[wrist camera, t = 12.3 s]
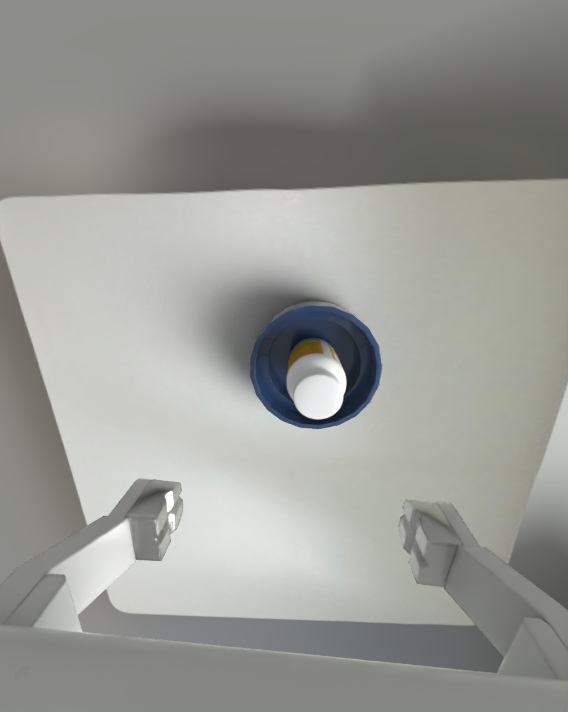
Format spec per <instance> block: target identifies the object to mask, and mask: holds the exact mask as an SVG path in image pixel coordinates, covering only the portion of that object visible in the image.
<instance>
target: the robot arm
mask: <svg viewBox="0 0 568 712" xmlns="http://www.w3.org/2000/svg"><path fill="white" fill-rule="evenodd" d="M181 491H182V489H181V483H179V482H172V481H162V480H149V479H138V480H136V481H135V482H134V483H133V485H132V486H131V487H130V489H129V490H128V491H127V492H126V494H125V495H124V496H123V498H122V499H121V500H120V501H119V503H118V504H117V505H116V507H115V508H114V509H113V510H112V512H111V513H110V514H109V516H103V517H101V518H99V519H98V520H96V521H94V522H93V523H91V524H89V525H88V526H86V527H84V528H83V529H82V530H79V531H78V532H76V533H74V534H73V535H71V536H69V537H68V538H66V539H64V540H63V541H61V542H59V543H58V544H56V545H55V546H53V547H51V548H49V549H48V550H46V551H44V552H43V553H41V554H39V555H38V556H36V557H34V558H33V559H31V560H29V561H28V562H26V563H25V564H23V565H21V566H19V567H18V568H16V569H15V570H14V571H13V572H12V573H11V574H10V575H9V576H8V577H7V579H6V580H5V581H4V582H3V583H2V584H1V585H0V712H568V610H567V609H565V608H564V607H563V606H562V605H560V604H559V603H558V602H556V601H555V600H554V599H552V598H551V597H550V596H548V595H547V594H546V593H545V592H543V591H542V590H541V589H539V588H538V587H537V586H535V585H534V584H533V583H531V582H530V581H529V580H527V579H526V578H525V577H524V576H522V575H521V574H519V573H518V572H517V571H516V570H514V569H513V568H511V567H510V566H509V565H508V564H506V563H505V562H504V561H503V560H501V559H500V558H499V557H497V556H496V555H495V554H493V553H492V552H491V551H489V550H488V549H487V548H485V547H480V545H479V544H478V542H477V541H476V539H475V538H474V536H473V534H472V533H471V531H470V530H469V528H468V527H467V525H466V524H465V522H464V521H463V519H462V518H461V516H460V515H459V513H458V512H457V510H456V509H455V507H454V506H453V505H452V504H451V503H450V502H433V501H419V500H405V502H404V504H403V510H404V513H405V514H404V515H403V516H402V517H400V521H399V535H400V539H401V543H402V546H403V548H404V549H405V550H406V551H407V552H408V553H409V554H410V558H409V564H410V567H411V570H412V572H413V575H414V578H415V580H416V583H417V584H423V585H431V586H439V587H444V589H445V590H446V591H447V592H448V594H449V595H450V596H451V597H452V598H453V599H454V601H455V602H456V603H457V604H458V605H459V606H460V607H461V609H462V610H463V611H464V612H465V613H466V614H467V615H468V617H469V618H470V619H471V620H472V621H473V622H474V623H475V625H476V626H477V627H478V628H479V629H480V630H481V631H482V633H483V634H484V635H485V636H486V637H487V638H488V639H489V640H490V642H491V643H492V644H493V645H494V646H495V647H496V648H497V650H498V651H499V652H500V653H501V654H502V655H503V657H504V659H503V662H502V663H501V665H500V667H499V669H498V672H497V673H488V672H478V671H467V670H458V669H448V668H438V667H428V666H418V665H408V664H398V663H388V662H377V661H368V660H358V659H348V658H338V657H327V656H317V655H307V654H298V653H288V652H287V653H286V652H277V651H266V650H257V649H247V648H237V647H227V646H217V645H207V644H197V643H187V642H176V641H166V640H156V639H146V638H136V637H125V636H116V635H106V634H96V633H86V632H82V628H81V625H80V622H79V619H78V614H79V613H80V612H81V611H82V610H84V609H85V608H86V607H87V606H88V605H89V604H90V603H91V602H92V601H93V600H94V599H95V598H97V597H98V596H99V595H100V594H101V593H102V592H103V591H104V590H105V589H106V588H107V587H109V586H110V585H111V584H112V583H113V582H114V581H115V580H116V579H117V578H118V577H119V576H121V575H122V574H123V573H124V572H125V571H126V570H127V569H128V568H129V567H130V566H131V565H133V564H134V563H135V562H136V560H151V561H162V559H163V557H164V555H165V553H166V550H167V548H168V546H169V544H170V542H171V539H170V534H171V533H172V532H174V531H175V530H176V529H177V527H178V525H179V523H180V520H181V516H182V512H183V500H182V499H181V498H180V497H179V495H180V493H181Z"/></svg>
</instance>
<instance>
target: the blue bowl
mask: <svg viewBox="0 0 568 712" xmlns="http://www.w3.org/2000/svg"><path fill="white" fill-rule="evenodd" d="M307 338H319V339H323V340H325V341H326V342H328V343H329V344H330V345H331V346H332V347H333V349H334V350H335V352H336V354H337V356H338V359H339V361H340V363H341V365H342V368H343V370H344V372H345V376H346V389H345V392H344V395H343V402H342V405H341V407H340V408H339V410H338V411H337V412H336V413H335V414H334V415H332V416H330V417H328V418H325V419H312V418H308V417H306V416H304V415H303V414H302V413H300V412H299V411H298V409H297V408H296V406H295V404H294V401H293V400H292V398H291V397H290V395H289V393H288V390H287V371H288V362H289V356H290V353H291V351H292V349H293V348H294V346H295V345H296V344H297V343H298V342H300V341H302V340H304V339H307ZM381 372H382V361H381V355H380V349H379V345H378V344H377V342H376V340H375V338H374V337H373V335H372V333H371V331H370V330H369V328H368V327H367V326H365V325H364V324H363V323H362V322H361V321H360V320H358V319H357V318H356V317H355V316H354V315H352V314H351V313H350V312H349V311H348V310H346V309H344V308H342V307H339V306H337V305H334V304H332V303H329V302H317V301H307V302H303V303H299V304H295V305H292V306H289V307H288V308H286V309H284V310H283V311H281V312H280V313H278V314H277V315H275V316H274V317H273V318H272V319H271V321H270V322H269V323H268V324H267V326H266V327H265V328H264V329H263V331H262V332H261V334H260V335H259V337H258V339H257V341H256V344H255V346H254V349H253V352H252V355H251V362H250V376H251V380H252V383H253V386H254V389H255V393H256V395H257V396H258V398H259V399H260V400H261V402H262V403H263V405H264V406H265V407H266V409H267V410H268V411H270V412H271V413H272V414H274V415H275V416H276V417H278V418H279V419H280V420H282V421H284V422H287V423H289V424H292V425H295V426H297V427H300V428H312V429H322V428H327V427H332V426H337V425H340V424H342V423H344V422H346V421H348V420H350V419H351V418H353V417H355V416H357V415H358V414H359V413H360V412H361V411H362V410H363V409H364V408H365V407H366V406H367V405H368V404H369V403H370V402H371V400H372V398H373V396H374V394H375V392H376V390H377V389H378V387H379V384H380V378H381Z"/></svg>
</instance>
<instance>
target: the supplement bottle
mask: <svg viewBox="0 0 568 712" xmlns="http://www.w3.org/2000/svg"><path fill="white" fill-rule="evenodd" d="M345 389H346V376H345V372H344V370H343V368H342V365H341V363H340V361H339V359H338V356H337V354H336V352H335V350H334V349H333V347H332V346H331V345H330V344H329V343H328V342H326V341H325V340H323V339H319V338H307V339H304V340H302V341H300V342H298V343H297V344H296V345H295V346H294V348H293V349H292V351H291V353H290V356H289V362H288V371H287V390H288V393H289V395H290V397H291V398H292V400H293V401H294V404H295V406H296V408H297V409H298V411H299V412H300V413H302V414H303V415H304V416H306V417H308V418H312V419H325V418H328V417H330V416H332V415H334V414H335V413H336V412H337V411H338V410H339V408H340V407H341V405H342V402H343V395H344V392H345Z"/></svg>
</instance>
